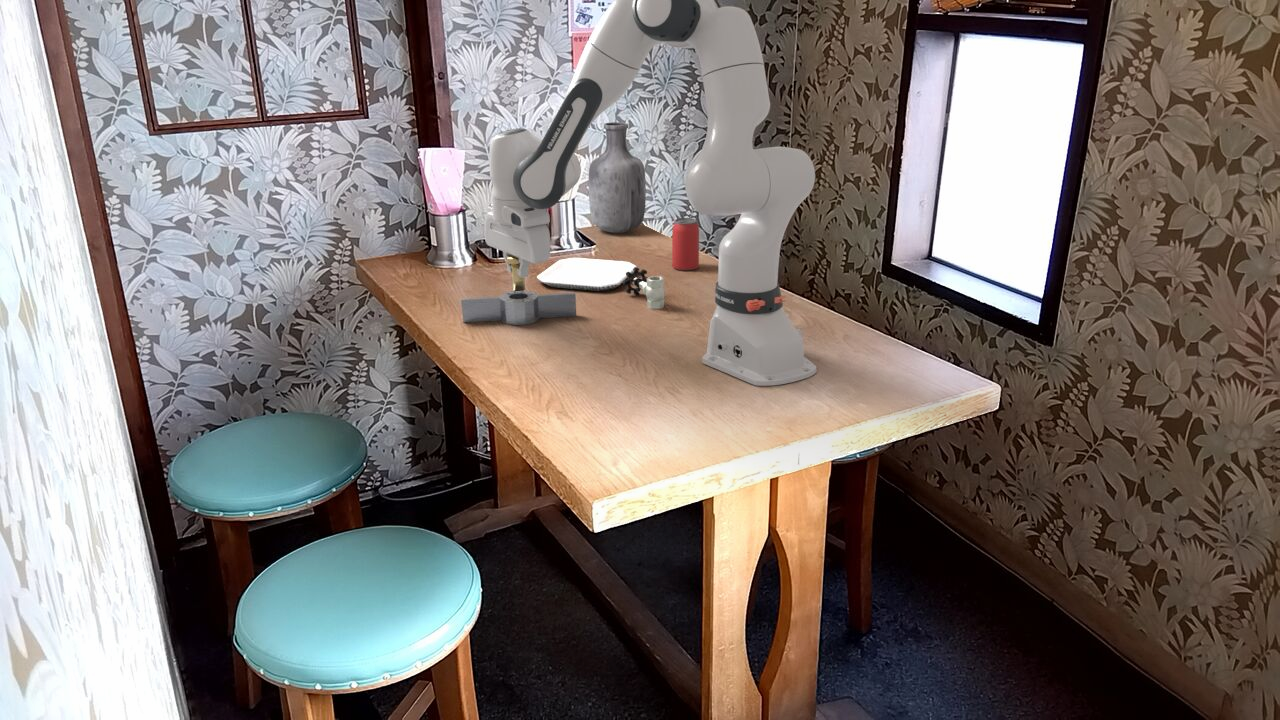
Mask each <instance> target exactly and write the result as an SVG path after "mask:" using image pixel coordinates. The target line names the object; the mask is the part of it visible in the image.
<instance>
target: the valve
mask: <svg viewBox="0 0 1280 720" xmlns="http://www.w3.org/2000/svg"><path fill="white" fill-rule="evenodd" d="M633 271H634V272H633V273H630V272H626V276H627V277H628V278H626V279H625V280H624V281H623V282H622V285H623V286H625V287H626V289H625V293H627V294H629V295H630V294H632V291H633V295H635V296H639V295H640V292H641V291H642V293H643V294H644V295H645V296H646V298H647V299H646V307H647V308H649V309H651V310H660V309H663V308H664V307H665V296H666V290H665V278H664V277H662V276H659V275H658V276H657V275H654V276H646V275H647V273H648V271H647V270H646V269H644V268H643V269H641V270H640V268H639V267H638V266H637V267H634V269H633ZM638 275H639V276H640V277H641V278H640V277H635V278H633V277H634V276H638ZM631 282H632V285H634V286H635V287H633V286H632V285H631Z"/></svg>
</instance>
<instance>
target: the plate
mask: <svg viewBox="0 0 1280 720" xmlns="http://www.w3.org/2000/svg"><path fill="white" fill-rule="evenodd" d="M634 267H637V268H638V266H637V265H636V264H633V263H632V262H629V261H625V260H624V261H623V260H611V259H596V258H586V257H584V258H583V257H569V258H564V259H559V260H557V261H556V262H555V263H553V264H552V265H551V266H549V267H548V268H547V269H545V270H544V271H542V272H541V273H539V274H538V275H537V276H536V279H537V280H538V281H539V282H541V283H542V284H545V285H547V286H549V287H552V288H559V289H572V290H582V291H583V290H584V291H593V292H594V291H595V292H602V291H608V290H609V291H610V290H614V289H616V288H617V287H619V286H620V285H621V284H623V281H624V280H627V279H628V277H627V276H626V272H630V273H633V272H634V271H633V269H634Z"/></svg>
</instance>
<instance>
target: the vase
mask: <svg viewBox="0 0 1280 720" xmlns="http://www.w3.org/2000/svg"><path fill="white" fill-rule="evenodd" d="M603 128H604V129H605V134H606V137H605V139H606V147H605V149H604V151H603V153H602V154H601V155H600V156H598V157H597V158H594V160H592V161H591V163H590V165H589V168H588V201H589V203H588V204H589V210H590V211H589V212H590V217H591V220H592V223H593V224H594V226H596V227H597V228H598V229H600V230H602V231H605V232H608V233H614V234H615V233H616V234H618V233H620V234H621V233H627V232H631V231H633V230H635V229H636V228H638V227H639V226H640V225H641V224H642V223H643V221H644V218H645V215H646V214H645V213H646V212H645V211H646V201H647V200H646V199H647V198H646V196H647V194H646V193H647V189H646V187H647V185H646V171H645V165H644V163H643V161H642V160H641V159H640V158H639V157H637V156H634V155H632V153H631V152H630V151H629V149H628V147H627V130H628V128H629V123H628V122H622V121H621V122H620V121H619V122H618V121H616V122H615V121H614V122H613V121H612V122H606V123H603Z"/></svg>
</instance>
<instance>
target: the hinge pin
mask: <svg viewBox="0 0 1280 720" xmlns="http://www.w3.org/2000/svg"><path fill="white" fill-rule="evenodd" d="M507 263H508V264H510V265H511V268H512V273H511V279H512V282H511V283H512V291H523V290H525V291H526V280H525V278H526V277H525V278H521V277H519V276H518V275H517V273H518V272H517V269H518V268H519V267H520V262H519V258H518V257H516V256H513V255H511V254H510V255H508V256H507Z"/></svg>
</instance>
